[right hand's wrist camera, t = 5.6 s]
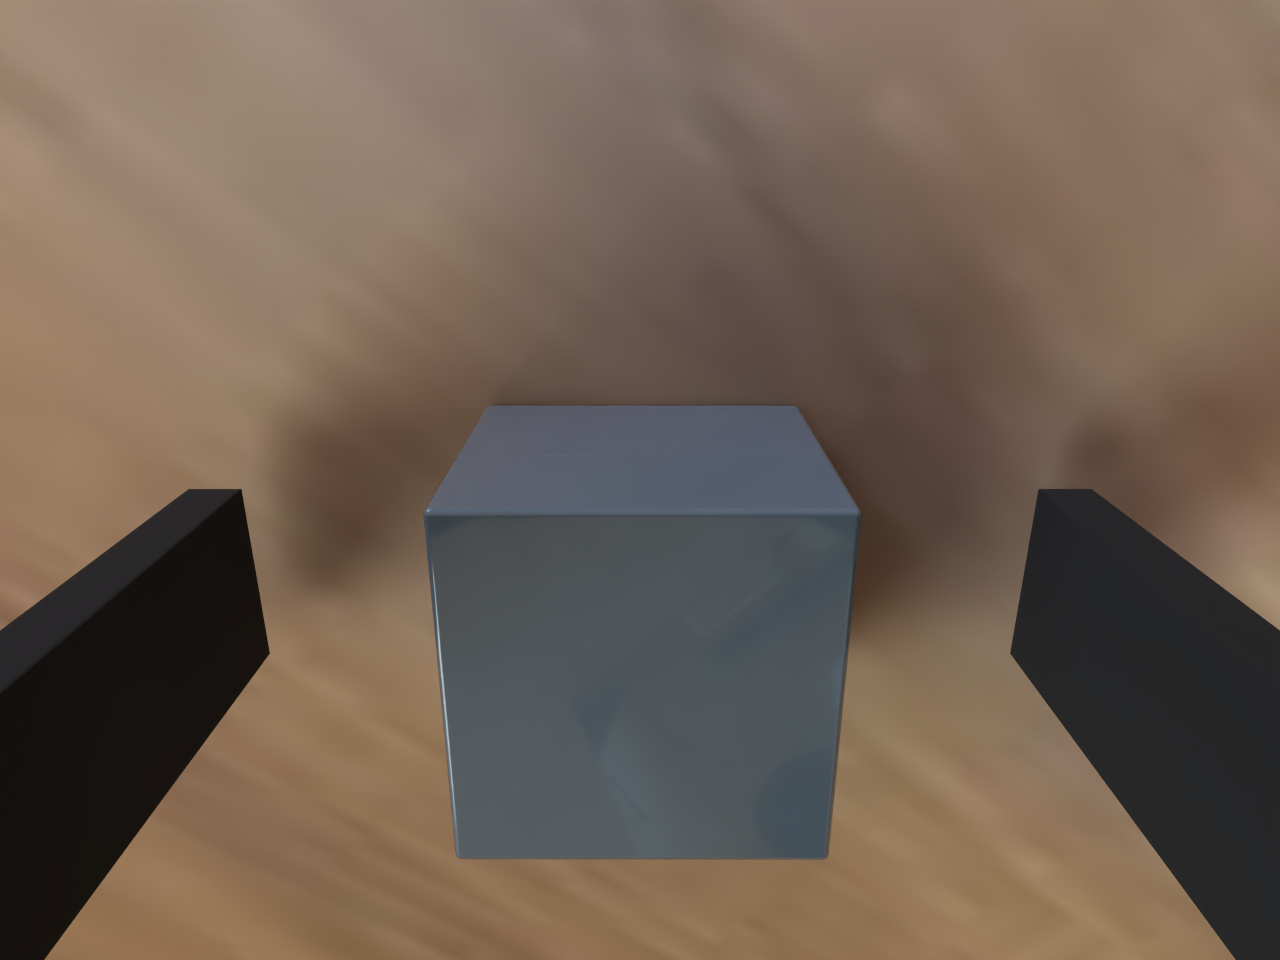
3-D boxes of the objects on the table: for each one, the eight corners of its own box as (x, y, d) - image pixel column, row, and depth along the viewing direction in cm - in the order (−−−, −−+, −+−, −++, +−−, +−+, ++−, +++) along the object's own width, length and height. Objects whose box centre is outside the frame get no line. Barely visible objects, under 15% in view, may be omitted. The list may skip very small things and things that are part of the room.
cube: (485, 404, 13) (420, 509, 9) (799, 404, 13) (863, 510, 9) (503, 676, 15) (454, 862, 11) (781, 676, 15) (829, 862, 11)
